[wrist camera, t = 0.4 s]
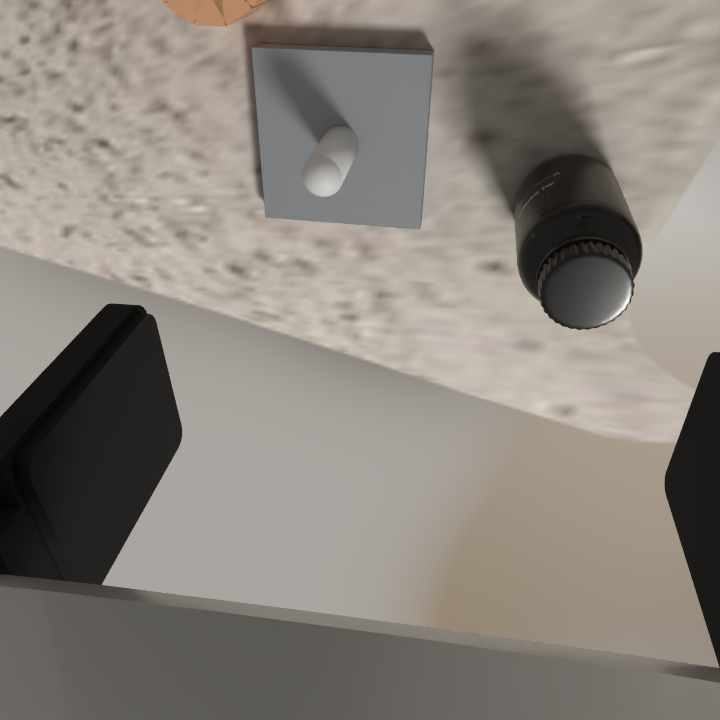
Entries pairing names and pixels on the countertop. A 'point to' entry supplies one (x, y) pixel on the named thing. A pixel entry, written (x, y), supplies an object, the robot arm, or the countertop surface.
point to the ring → (214, 10)
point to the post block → (343, 132)
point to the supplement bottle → (576, 241)
